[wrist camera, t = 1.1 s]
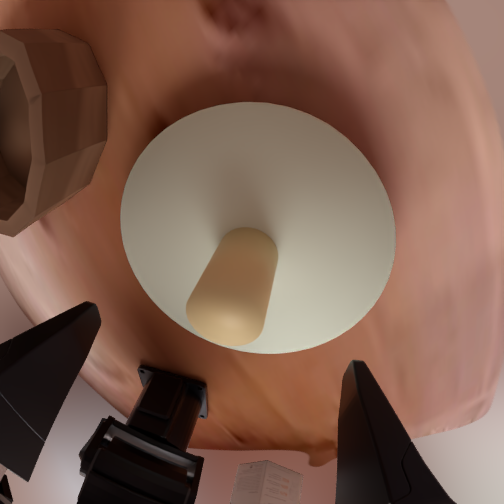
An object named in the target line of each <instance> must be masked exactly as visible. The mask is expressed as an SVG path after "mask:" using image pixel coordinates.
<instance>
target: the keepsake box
mask: <svg viewBox="0 0 504 504" xmlns="http://www.w3.org/2000/svg"><path fill="white" fill-rule="evenodd" d="M106 141H107V84H106V82H105V80H104V77H103V75H102V73H101V71H100V69H99V66H98V64H97V62H96V60H95V57H94V55H93V53H92V51H91V48H90V46H89V44H88V43H86V42H84V41H82V40H80V39H78V38H76V37H74V36H72V35H69V34H67V33H65V32H63V31H61V30H55V29H6V30H0V234H4V235H7V236H11V237H14V236H16V235H17V234H19V233H20V232H21V231H23V230H24V229H26V228H27V227H28V226H30V225H31V224H33V223H34V222H36V221H37V220H39V219H40V218H42V217H43V216H45V215H46V214H48V213H49V212H51V211H52V210H54V209H55V208H57V207H59V206H60V205H62V204H63V203H65V202H66V201H67V200H69V199H70V198H71V197H72V196H74V195H75V194H76V193H78V192H79V191H80V190H82V189H83V188H85V187H86V186H87V185H89V184H90V182H91V179H92V176H93V174H94V171H95V168H96V166H97V163H98V161H99V158H100V156H101V153H102V151H103V148H104V146H105V144H106Z"/></svg>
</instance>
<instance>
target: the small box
mask: <svg viewBox="0 0 504 504" xmlns="http://www.w3.org/2000/svg"><path fill="white" fill-rule="evenodd" d="M302 480H303V475H302V474H300V473H297V472H294V471H292V470H289V469H287V468H284V467H282V466H280V465H277V464H275V463H272V462H270V461H268V460H265V461H260V462H253V463H246V464H240V465H239V466H238V470H237V474H236V479H235V484H234V488H233V492H232V496H231V500H230V504H300V497H301V489H302Z"/></svg>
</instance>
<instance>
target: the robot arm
mask: <svg viewBox="0 0 504 504" xmlns="http://www.w3.org/2000/svg"><path fill="white" fill-rule="evenodd" d="M100 326H101V318H100V314H99V311H98V307H97V305H96V304H95V303H92V302H89V301H86V302H83V303H81V304H79V305H77V306H75V307H73V308H71V309H69V310H67V311H65V312H63V313H61V314H59V315H57V316H55V317H53V318H51V319H49V320H47V321H45V322H43V323H41V324H39V325H37V326H35V327H33V328H31V329H29V330H27V331H25V332H23V333H21V334H19V335H17V336H16V337H14V338H13V339H10V340H8V341H6V342H4V343H2V344H0V504H12V502H13V498H12V495H11V491H10V487H9V483H8V479H7V476H6V475H5V472H6V470H7V469H8V470H10V471H11V472H13V473H14V474H16V475H17V476H19V477H20V478H22V479H23V480H25V481H27V482H28V481H29V480H30V477H31V474H32V472H33V469H34V467H35V465H36V462H37V460H38V457H39V455H40V453H41V450H42V448H43V446H44V443H45V442H44V441H46V439H47V436H48V434H49V432H50V430H51V427H52V425H53V423H54V421H55V419H56V417H57V415H58V413H59V410H60V409H61V407H62V404H63V402H64V400H65V398H66V396H67V394H68V392H69V390H70V388H71V387H72V384H73V383H74V381H75V379H76V377H77V375H78V373H79V371H80V369H81V368H82V366H83V364H84V362H85V360H86V358H87V356H88V354H89V351H90V349H91V347H92V344H93V342H94V340H95V337H96V335H97V333H98V330H99V328H100ZM138 373H139V376H140V379H141V382H142V385H143V390H142V392H141V394H140V396H139V398H138V400H137V402H136V404H135V406H134V408H133V410H132V412H131V414H130V416H129V418H128V420H127V422H126V424H123V423H121V422H119V421H117V420H115V418H114V417H112V416H109V417H108V419H105V418H102V420H101V422H100V424H99V426H98V427H97V429H96V431H95V432H94V434H93V435H92V436H91V438H90V439H89V440H88V442H87V443H86V444H85V446H84V447H83V448H82V450H81V451H80V453H79V457H80V459H81V468H80V475H82V476H84V477H85V480H84V482H83V485H82V488H81V490H80V493H79V495H78V502H77V504H194V502H195V499H196V496H197V491H198V486H199V481H200V477H201V472H202V467H203V462H204V458H203V457H201V456H195V455H193V454H190V453H187V452H186V450H187V447H188V445H189V442H190V439H191V436H192V433H193V430H194V427H195V425H196V422H197V419H198V417H199V418H202V419H206V418H207V416H208V403H207V386H206V384H204V383H202V382H199V381H195V380H191V379H187V378H184V377H180V376H177V375H173V374H170V373H166V372H163V371H160V370H156V369H153V368H150V367H147V366H144V365H140V366H139V367H138ZM111 439H112V440H111ZM337 459H338V460H337V483H336V501H335V504H457V503H455V502H454V501H453V500H452V499H451V498H450V497H449V496H448V494H447V493H446V492H445V490H444V489H443V487H442V486H441V485H440V483H439V482H438V481H437V479H436V478H435V476H434V475H433V474H432V472H431V471H430V469H429V468H428V466H427V465H426V464H425V462H424V461H423V459H422V457H421V456H420V454H419V452H418V451H417V449H416V447H415V445H414V444H413V442H411V439H410V437H409V435H408V433H407V432H406V430H405V428H404V427H403V425H402V423H401V421H400V420H399V418H398V416H397V415H396V413H395V411H394V410H393V408H392V406H391V405H390V403H389V401H388V399H387V398H386V396H385V395H384V393H383V391H382V390H381V388H380V386H379V385H378V383H377V381H376V380H375V378H374V376H373V375H372V373H371V372H370V370H369V368H368V367H367V365H366V363H365V362H364V361H360V360H352V361H351V362H350V364H349V366H348V368H347V370H346V372H345V373H344V376H343V380H342V390H341V399H340V408H339V417H338V457H337Z"/></svg>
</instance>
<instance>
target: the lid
mask: <svg viewBox="0 0 504 504" xmlns="http://www.w3.org/2000/svg"><path fill="white" fill-rule="evenodd" d="M120 221H121V234H122V239H123V245H124V249H125V252H126V255H127V258H128V261H129V263H130V266H131V268H132V270H133V272H134V274H135V276H136V278H137V279H138V281H139V283H140V284H141V286H142V288H143V289H144V290H145V292H146V293H147V294H148V296H149V297H150V298H151V299H152V301H153V302H154V303H155V304H156V305H157V306H158V307H159V308H160V309H161V310H162V311H163V312H164V313H165V314H166V315H168V316H169V317H170V318H171V319H172V320H173V321H175V322H176V323H178V324H179V325H180V326H182V327H183V328H185V329H186V330H188V331H190V332H191V333H193V334H195V335H197V336H199V337H201V338H203V339H205V340H207V341H209V342H212V343H215V344H217V345H220V346H223V347H226V348H230V349H234V350H238V351H244V352H251V353H263V354H276V353H288V352H295V351H300V350H304V349H308V348H312V347H315V346H318V345H320V344H323V343H326V342H328V341H330V340H332V339H334V338H336V337H338V336H339V335H341V334H343V333H344V332H346V331H347V330H349V329H350V328H351V327H353V326H354V325H355V324H356V323H357V322H359V321H360V320H361V319H362V318H363V317H364V316H365V315H366V314H367V313H368V311H369V310H370V309H371V308H372V307H373V306H374V304H375V303H376V301H377V300H378V298H379V297H380V295H381V294H382V292H383V289H384V287H385V285H386V283H387V281H388V279H389V276H390V273H391V269H392V266H393V262H394V255H395V248H396V228H395V222H394V216H393V210H392V207H391V204H390V201H389V198H388V195H387V192H386V190H385V188H384V186H383V184H382V182H381V180H380V178H379V176H378V174H377V173H376V171H375V170H374V168H373V167H372V166H371V164H370V163H369V162H368V160H367V159H366V158H365V156H364V155H363V154H362V153H361V151H360V150H359V149H358V148H357V147H356V146H355V145H354V144H353V143H352V142H351V141H350V140H349V139H348V138H347V137H346V136H344V135H343V134H342V133H340V132H339V131H337V130H336V129H335V128H333V127H332V126H331V125H329V124H328V123H326V122H324V121H322V120H320V119H318V118H316V117H314V116H313V115H311V114H308V113H306V112H303V111H300V110H297V109H294V108H291V107H288V106H283V105H278V104H273V103H267V102H239V103H230V104H223V105H217V106H214V107H210V108H206V109H203V110H200V111H197V112H195V113H192V114H190V115H188V116H186V117H184V118H182V119H180V120H178V121H176V122H175V123H173V124H172V125H170V126H169V127H167V128H166V129H164V130H163V131H162V132H161V133H160V134H159V135H158V136H157V137H155V138H154V139H153V140H152V141H151V142H150V143H149V144H148V146H147V147H146V148H145V149H144V151H143V152H142V153H141V155H140V156H139V157H138V159H137V161H136V163H135V164H134V166H133V168H132V170H131V172H130V174H129V177H128V179H127V182H126V185H125V188H124V192H123V197H122V201H121V214H120Z"/></svg>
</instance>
